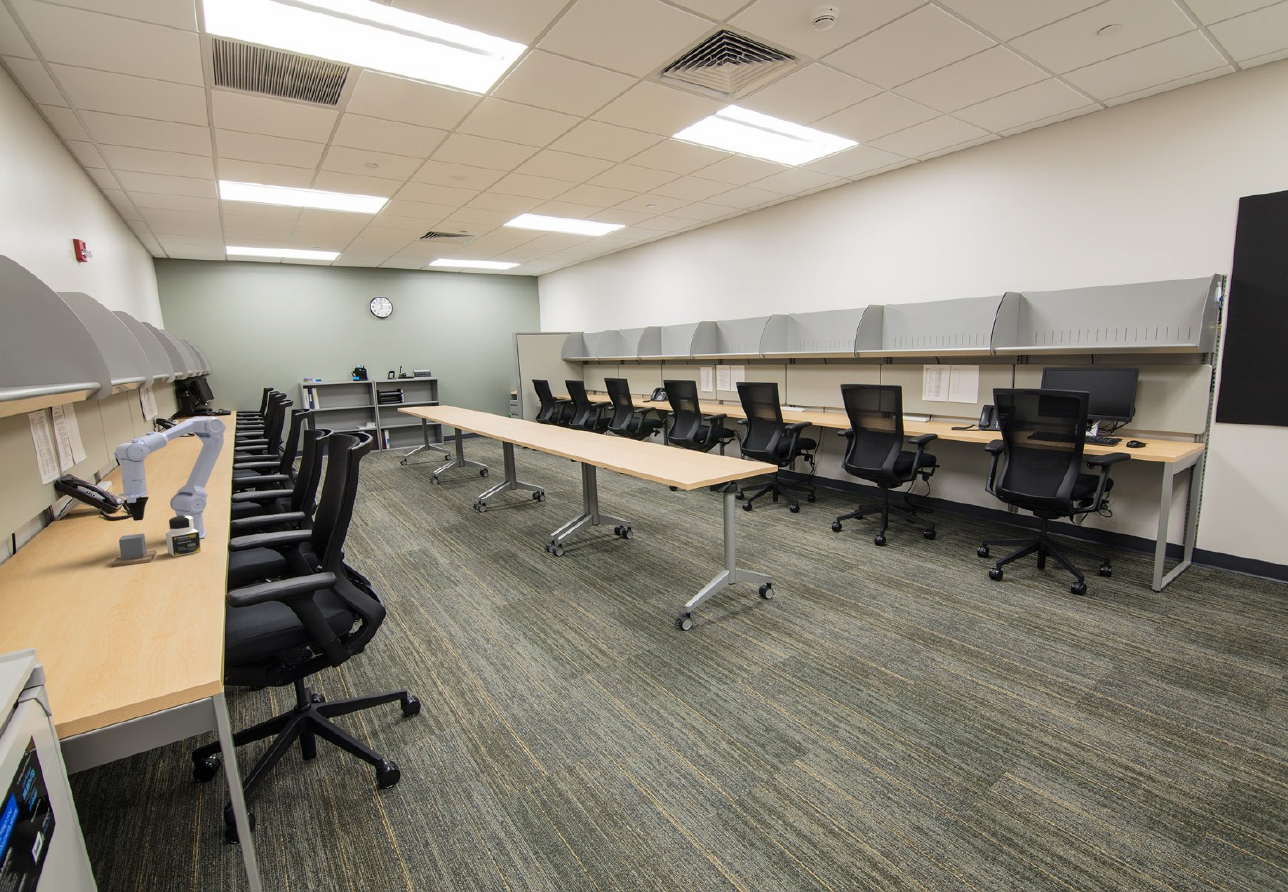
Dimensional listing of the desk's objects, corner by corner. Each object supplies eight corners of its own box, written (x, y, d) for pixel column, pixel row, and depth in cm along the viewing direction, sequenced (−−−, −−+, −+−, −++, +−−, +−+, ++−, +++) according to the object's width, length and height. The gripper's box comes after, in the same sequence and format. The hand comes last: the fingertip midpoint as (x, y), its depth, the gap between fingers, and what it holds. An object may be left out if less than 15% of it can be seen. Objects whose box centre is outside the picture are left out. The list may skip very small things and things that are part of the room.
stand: (119, 557, 179) (117, 539, 178) (156, 553, 184) (154, 535, 183) (112, 567, 171) (109, 548, 170) (150, 561, 176) (148, 543, 175)
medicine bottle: (173, 557, 180) (170, 520, 179) (167, 552, 184) (163, 517, 183) (201, 551, 186) (197, 516, 184) (194, 547, 190) (190, 513, 189)
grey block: (124, 556, 178) (122, 535, 177) (146, 553, 181) (144, 533, 180) (121, 560, 174) (118, 539, 173) (143, 557, 176) (141, 537, 176)
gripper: (122, 477, 187) (127, 516, 189) (112, 484, 175) (117, 526, 177) (150, 475, 191) (154, 514, 193) (141, 482, 179) (146, 523, 181)
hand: (138, 520), depth 185 cm, fingers closed
